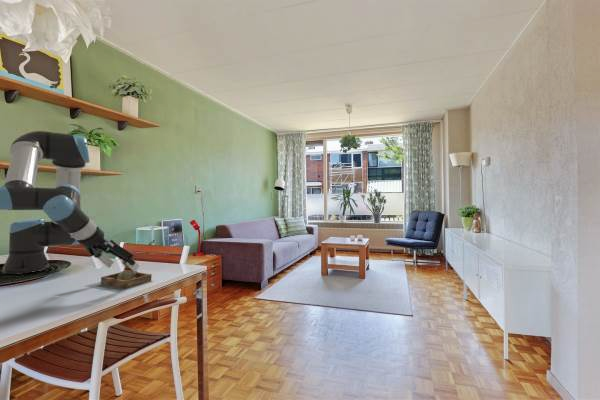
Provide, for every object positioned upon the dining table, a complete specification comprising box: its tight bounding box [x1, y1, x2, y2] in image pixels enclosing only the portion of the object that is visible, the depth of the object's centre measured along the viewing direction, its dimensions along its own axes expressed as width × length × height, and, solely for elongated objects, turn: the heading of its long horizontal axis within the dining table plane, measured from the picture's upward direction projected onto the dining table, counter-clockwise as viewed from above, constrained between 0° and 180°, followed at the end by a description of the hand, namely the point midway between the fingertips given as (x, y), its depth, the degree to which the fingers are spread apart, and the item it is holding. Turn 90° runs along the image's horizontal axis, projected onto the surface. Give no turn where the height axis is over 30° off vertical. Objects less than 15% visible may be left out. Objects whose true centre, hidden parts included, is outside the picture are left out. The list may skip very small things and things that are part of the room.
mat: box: [85, 280, 154, 294], centre depth 116 cm, size 18×16×1 cm
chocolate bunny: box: [117, 260, 138, 281], centre depth 117 cm, size 6×8×10 cm
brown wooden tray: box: [100, 271, 152, 289], centre depth 117 cm, size 14×12×3 cm
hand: (123, 266), depth 116 cm, fingers open, 13 cm apart
